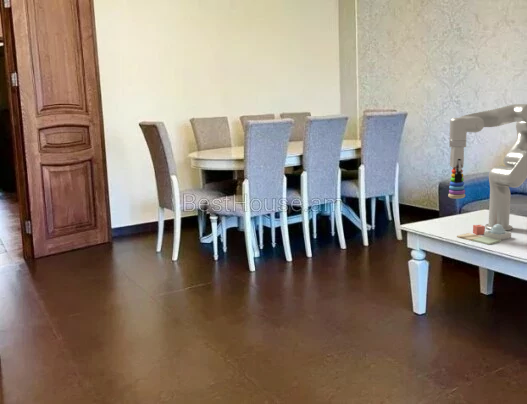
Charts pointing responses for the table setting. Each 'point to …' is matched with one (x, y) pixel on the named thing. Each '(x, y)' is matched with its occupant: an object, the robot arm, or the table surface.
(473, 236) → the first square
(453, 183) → the stacking toy
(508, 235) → the popper housing
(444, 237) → the table surface
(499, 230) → the dome
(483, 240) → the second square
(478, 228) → the die
